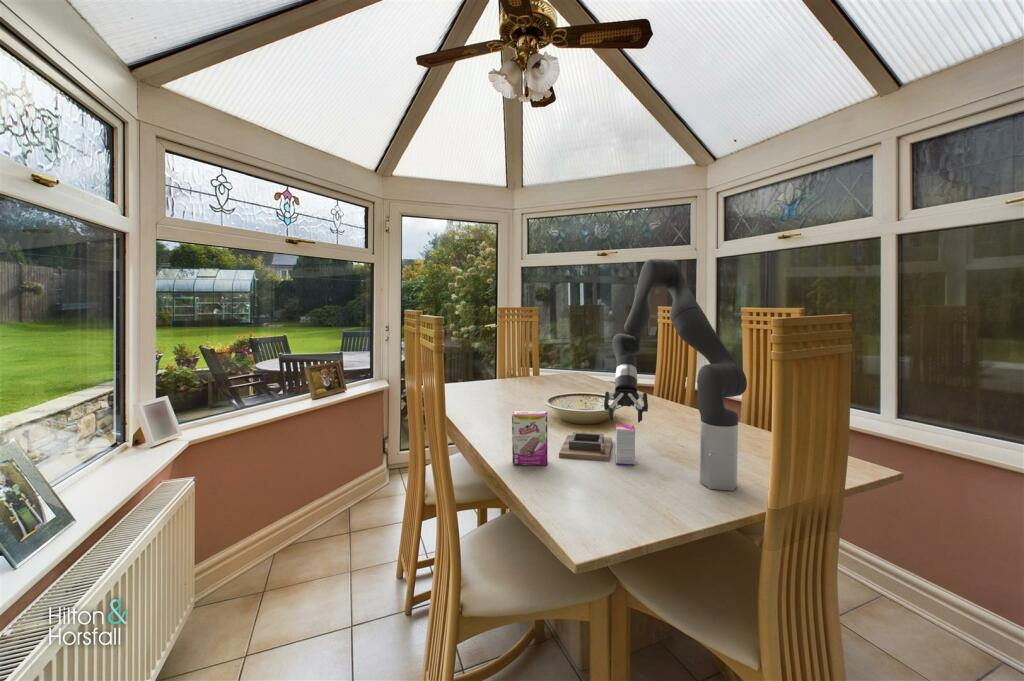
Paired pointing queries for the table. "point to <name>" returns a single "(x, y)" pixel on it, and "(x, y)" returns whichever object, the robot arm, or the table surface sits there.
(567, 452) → the nest plate
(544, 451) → the candy bar box
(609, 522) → the table surface
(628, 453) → the supplement box
